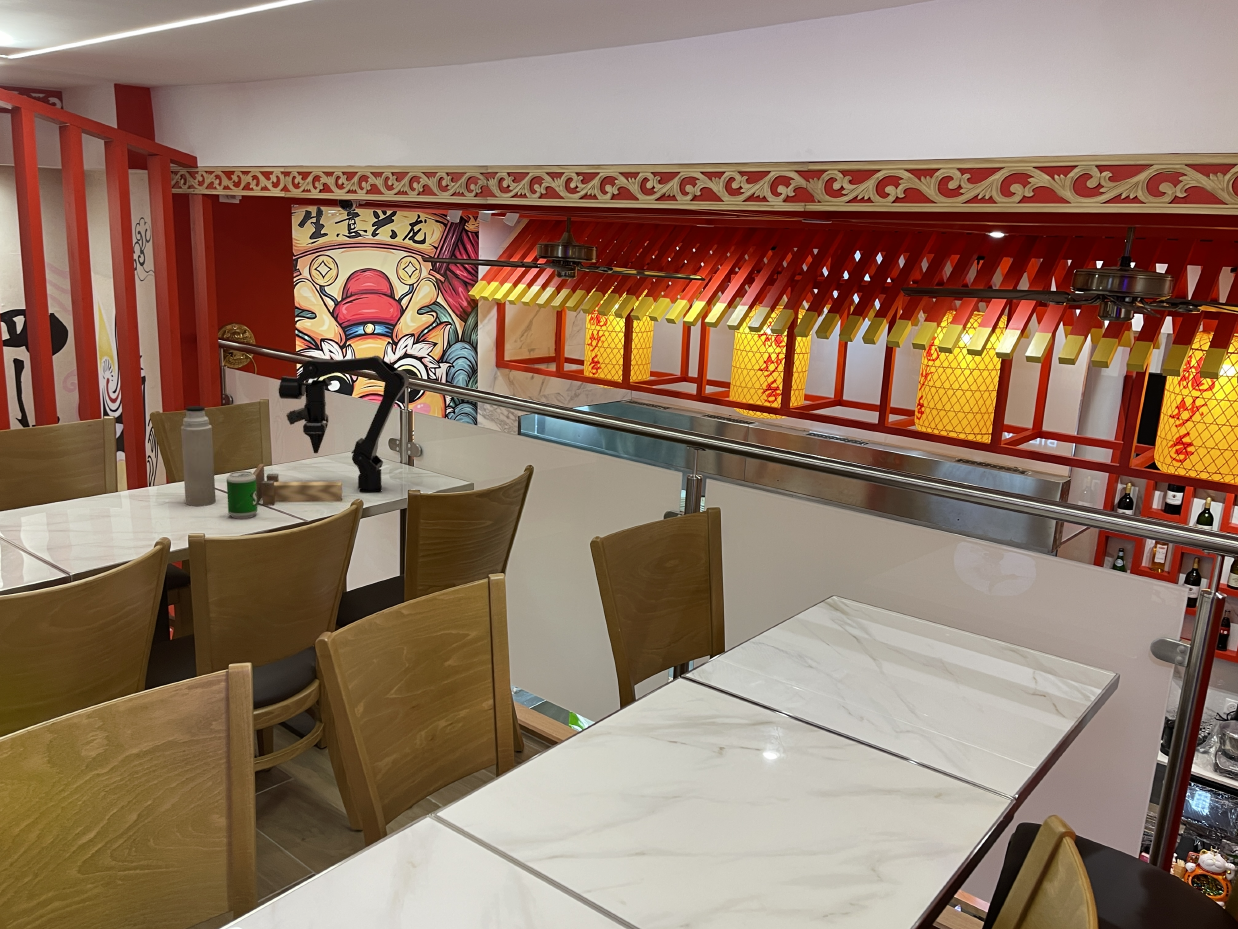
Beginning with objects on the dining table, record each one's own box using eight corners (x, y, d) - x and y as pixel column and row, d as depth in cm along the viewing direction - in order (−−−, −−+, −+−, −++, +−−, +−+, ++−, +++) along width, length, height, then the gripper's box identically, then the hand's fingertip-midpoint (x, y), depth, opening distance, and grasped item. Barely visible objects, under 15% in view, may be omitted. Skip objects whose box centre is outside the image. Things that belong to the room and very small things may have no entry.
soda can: (251, 520, 259) (249, 477, 256) (223, 518, 259) (221, 476, 256) (261, 512, 266) (260, 471, 264) (235, 511, 267) (233, 469, 264)
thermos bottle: (201, 497, 279) (196, 403, 272) (221, 501, 275) (216, 406, 269) (179, 503, 271) (173, 407, 265) (199, 507, 268) (193, 410, 262)
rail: (342, 497, 285) (341, 481, 284) (340, 501, 281) (340, 484, 280) (270, 498, 281) (269, 482, 280) (267, 501, 277) (267, 485, 276)
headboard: (280, 492, 287) (279, 464, 285) (272, 507, 272) (270, 476, 270) (260, 493, 286) (259, 464, 284) (251, 507, 271) (250, 477, 269)
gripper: (290, 394, 296) (292, 443, 299) (284, 405, 278) (286, 456, 282) (328, 395, 298) (329, 443, 302) (324, 405, 281) (325, 456, 284)
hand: (317, 450), depth 292 cm, fingers open, 9 cm apart
